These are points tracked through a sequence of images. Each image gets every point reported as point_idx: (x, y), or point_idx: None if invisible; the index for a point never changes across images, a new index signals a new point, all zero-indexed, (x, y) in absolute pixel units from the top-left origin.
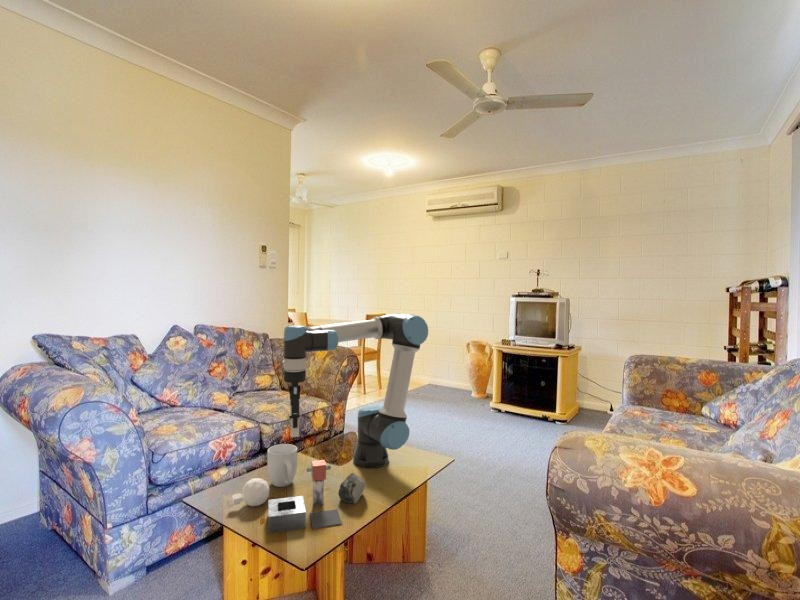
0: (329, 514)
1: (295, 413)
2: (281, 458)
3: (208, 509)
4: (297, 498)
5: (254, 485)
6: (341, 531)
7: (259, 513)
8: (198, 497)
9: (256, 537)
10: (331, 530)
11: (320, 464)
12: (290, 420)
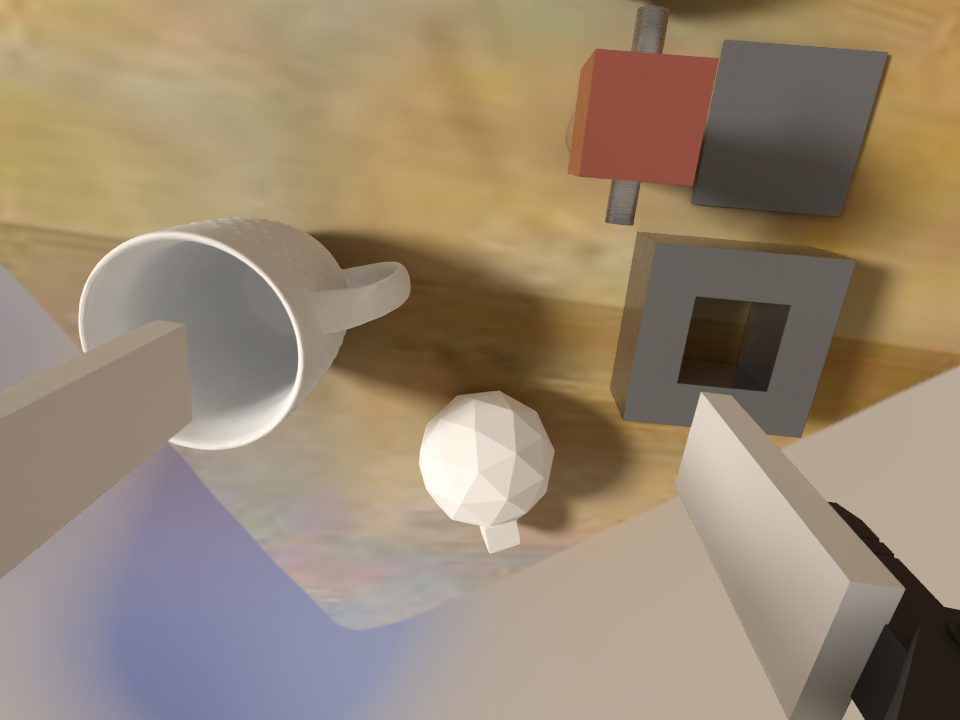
0: (760, 100)
1: (69, 429)
2: (316, 360)
3: (465, 587)
4: (677, 278)
5: (523, 495)
6: (945, 73)
7: (578, 420)
8: (349, 615)
9: None
10: (904, 124)
11: (686, 111)
12: (157, 447)
